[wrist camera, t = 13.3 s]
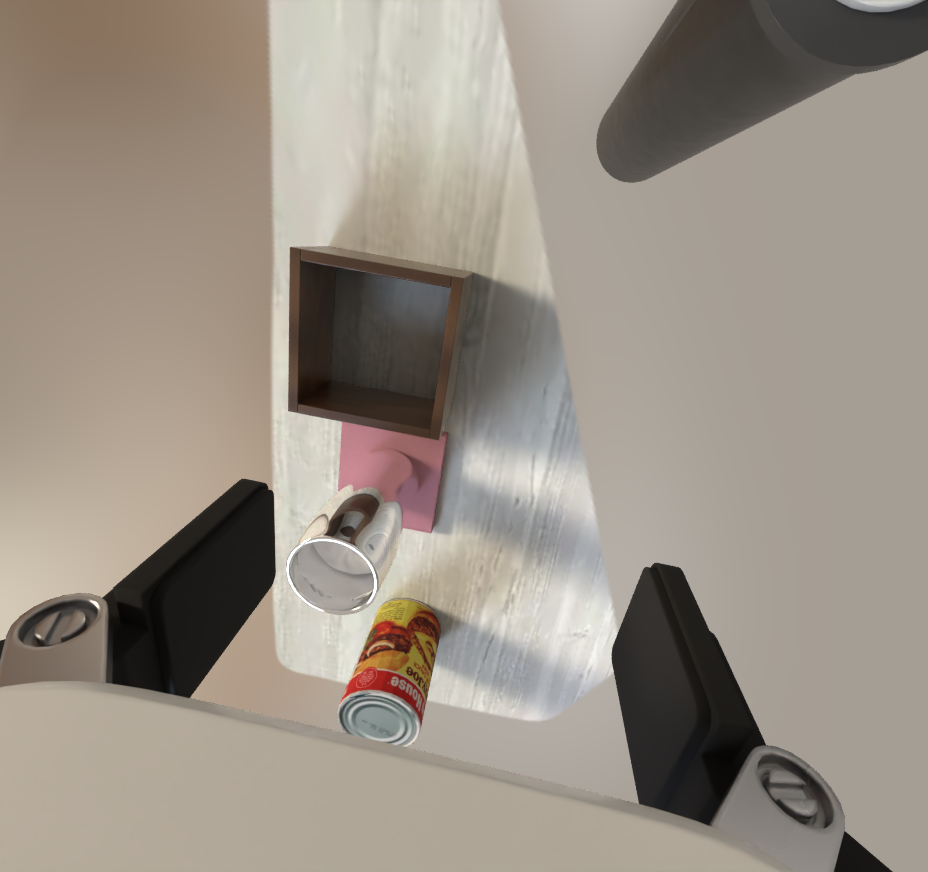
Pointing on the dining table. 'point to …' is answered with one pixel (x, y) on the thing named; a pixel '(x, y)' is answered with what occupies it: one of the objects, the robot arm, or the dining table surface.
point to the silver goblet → (354, 536)
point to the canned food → (392, 674)
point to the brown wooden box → (315, 337)
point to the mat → (417, 449)
